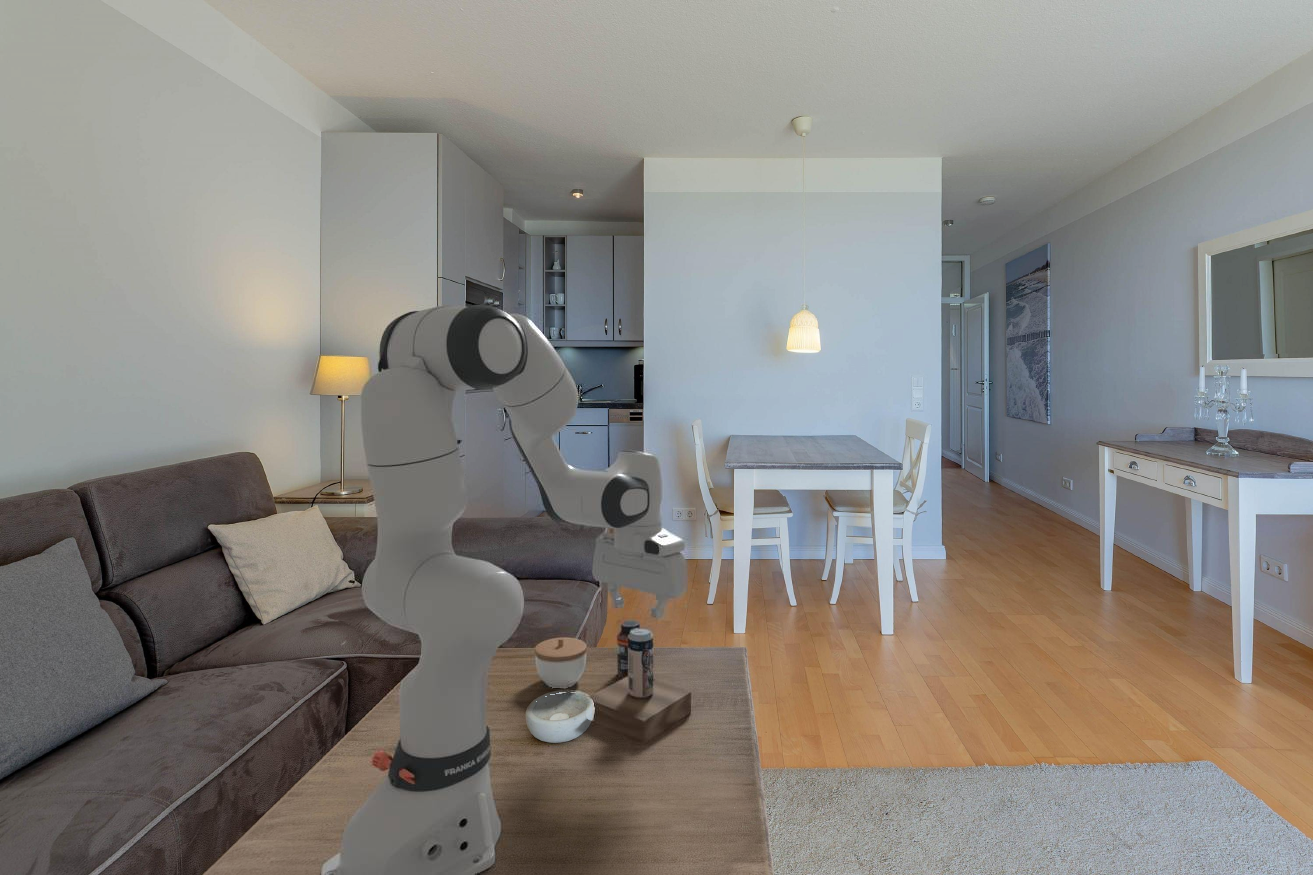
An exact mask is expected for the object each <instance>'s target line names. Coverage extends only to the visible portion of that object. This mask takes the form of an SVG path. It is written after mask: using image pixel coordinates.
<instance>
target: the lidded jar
mask: <svg viewBox="0 0 1313 875" xmlns="http://www.w3.org/2000/svg"><path fill="white" fill-rule="evenodd" d="M587 648H588V647H587V644H586V643H585V642H584V641H583V640H581V639H578V638H574V637H555V638H550V639H549V638H548V639H546V640H543V641H541V642H539V643H537V645H536V646H535V647H534V655H535V666H536V671H537V674H538V676H539V677H540V679H541V681H542V682H544V683H545V684H546V686H547V685H548V686H549V687H548V686H547V687H548V688H550V687H552V688H551V689H553V688H560V687H562V688H563V687H566V688H563V689H562V690H564V689H565V690H566V689H569V688H571V687H573V686H575V685H576V683H577V681H579V680H580V678H581V677H582V675H583V674H584V671H585V668H586V662H587ZM568 687H569V688H568Z"/></svg>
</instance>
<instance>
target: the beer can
mask: <svg viewBox="0 0 1313 875" xmlns="http://www.w3.org/2000/svg"><path fill="white" fill-rule="evenodd" d="M654 659H655V658H654V634H653V632H652V630H651V629H649V628H647V627H640V628H634V629H632V630H631V631H630V634H629V635H628V692H629V694H630V695H632V696H633V697H636V698H646V697H648V696H650V695H651V694H653V692H654V680H655V679H654V678H655V677H654V676H655V674H654V672H655V670H654V665H655V664H654V663H655V662H654Z"/></svg>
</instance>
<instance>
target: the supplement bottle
mask: <svg viewBox="0 0 1313 875" xmlns="http://www.w3.org/2000/svg"><path fill="white" fill-rule="evenodd" d="M640 626H641V625H640V622H639V621H638V620H633V619H629V620H624V621H622V622H621V623H620V631H619V632H618V633H617V635H616V649H617V650H616V652H617V653H616V654H617V655H616V656H617V657H616V658H617V666H616V667H617V675H618V677H620V678H622V679H623V678H625V677H627V676H628V635H629V634H630V631H631V630H632V629H634V628H641V627H640Z"/></svg>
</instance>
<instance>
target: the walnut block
mask: <svg viewBox="0 0 1313 875" xmlns="http://www.w3.org/2000/svg"><path fill="white" fill-rule="evenodd" d="M588 697H590V698H591V699H592V700H593V702H594V707H595V714H594V721H593V722H592V723H594V724H597V725H599V726H600V727H601V726H602V727H604V728H606V729H609V730H611V731H614V732H616V733H618V734H621V735H623V736H626V737H627V738H630V739H632V740H635V741H637V742H639V743H642V744H646V743H647V742H649V741H651V739H653V738H655V737H657V736H658V735H660V734H661V733H663V732H664V731H666V730H667V729H669V728H670V727H671V726H673V725H674V724H676V723H678V722H679V721H681V720H682V719H684V718H685V717H687V716H688V715H690V714H691V713H692V691H689V690H687V689H683V688H680V687H678V686H675V685H672V684H669V683H665V682H663V681H660V680H658V679H654V692H653V694H651V695H650V696H648V697H646V698H636V697H633V696H632V695H630V694H629V692H628V676H627V677H625V678H622V679H619V680H617V681H616V682H614V683H612V684H610V685H608V686H606V687H604V688H603V689H601V690H598V691H597V692H594V693H593V694H591V695H589V696H588Z"/></svg>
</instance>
